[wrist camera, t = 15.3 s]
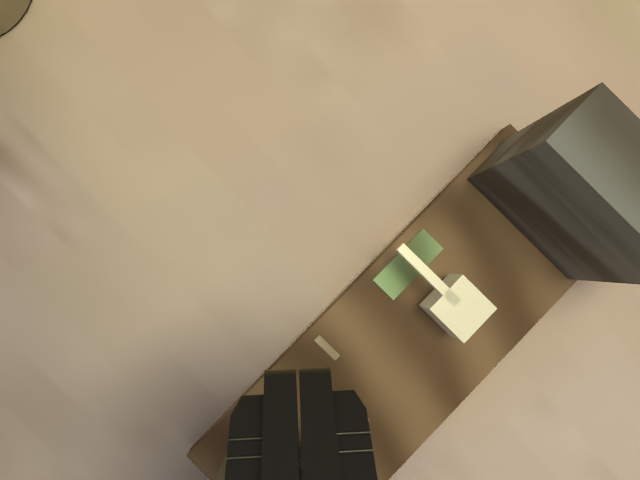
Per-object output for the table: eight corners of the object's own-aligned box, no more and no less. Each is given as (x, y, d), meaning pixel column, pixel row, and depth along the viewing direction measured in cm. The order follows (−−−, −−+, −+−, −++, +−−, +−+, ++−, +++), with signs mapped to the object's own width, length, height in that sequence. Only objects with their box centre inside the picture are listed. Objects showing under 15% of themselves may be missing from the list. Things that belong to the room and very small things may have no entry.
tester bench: (302, 557, 37) (303, 726, 24) (191, 448, 37) (129, 554, 24) (608, 234, 39) (771, 221, 26) (502, 129, 39) (608, 60, 26)
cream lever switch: (450, 336, 36) (464, 343, 33) (376, 263, 36) (383, 263, 33) (480, 304, 36) (497, 308, 33) (407, 231, 36) (417, 229, 33)
